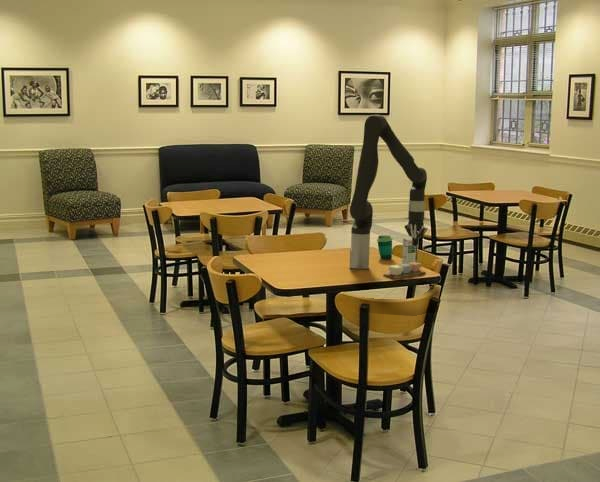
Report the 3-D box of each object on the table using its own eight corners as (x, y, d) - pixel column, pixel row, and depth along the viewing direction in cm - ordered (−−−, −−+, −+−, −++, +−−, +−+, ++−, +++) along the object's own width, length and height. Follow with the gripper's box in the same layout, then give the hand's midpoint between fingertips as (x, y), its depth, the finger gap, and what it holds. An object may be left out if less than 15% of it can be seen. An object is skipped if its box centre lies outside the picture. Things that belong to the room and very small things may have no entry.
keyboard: (397, 279, 373) (397, 277, 372) (383, 276, 379) (383, 273, 379) (425, 274, 386) (425, 271, 385) (411, 271, 392) (411, 268, 392)
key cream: (396, 275, 375) (396, 268, 374) (388, 273, 378) (388, 266, 378) (402, 274, 378) (403, 266, 377) (395, 272, 381) (395, 265, 381)
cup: (391, 260, 416) (392, 238, 414) (375, 260, 417) (376, 237, 415) (392, 258, 424) (393, 235, 422) (377, 257, 425) (377, 234, 423)
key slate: (405, 273, 379) (405, 266, 378) (397, 272, 382) (398, 264, 382) (412, 272, 382) (412, 265, 381) (404, 270, 386) (404, 263, 385)
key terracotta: (414, 272, 383) (414, 264, 382) (406, 270, 387) (407, 263, 386) (420, 270, 386) (421, 263, 386) (413, 269, 390) (413, 261, 389)
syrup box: (406, 268, 399) (407, 239, 396) (401, 265, 405) (402, 237, 402) (416, 267, 401) (418, 239, 398) (412, 265, 406) (413, 236, 404)
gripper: (432, 210, 379) (431, 247, 382) (411, 207, 389) (409, 243, 392) (422, 212, 374) (420, 248, 377) (400, 209, 384) (399, 244, 387)
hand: (415, 245), depth 384 cm, fingers closed
